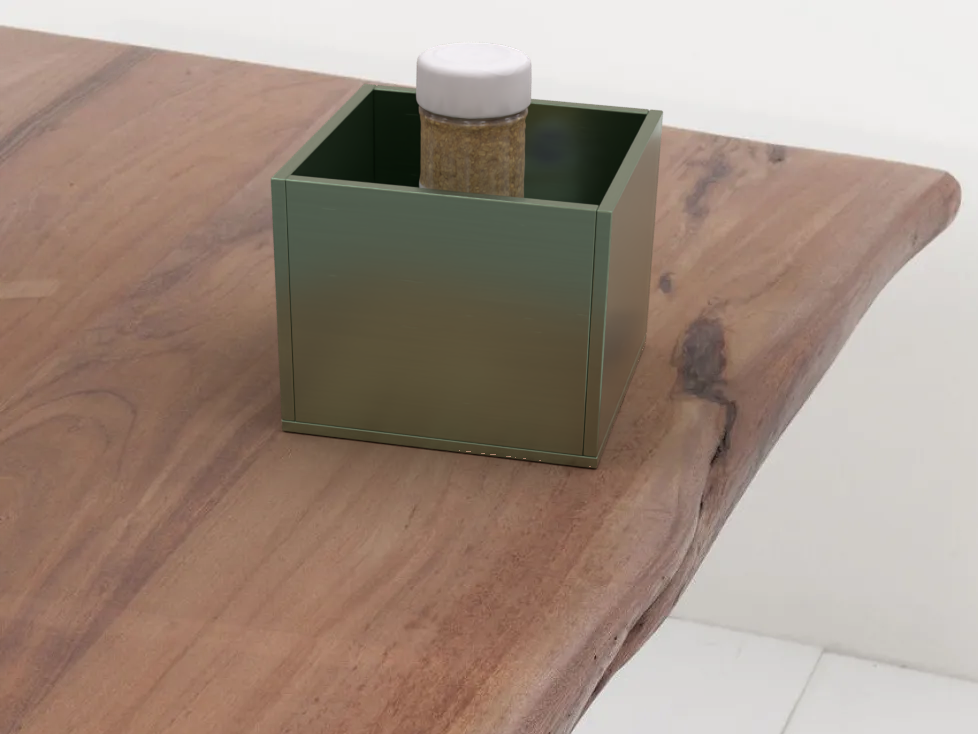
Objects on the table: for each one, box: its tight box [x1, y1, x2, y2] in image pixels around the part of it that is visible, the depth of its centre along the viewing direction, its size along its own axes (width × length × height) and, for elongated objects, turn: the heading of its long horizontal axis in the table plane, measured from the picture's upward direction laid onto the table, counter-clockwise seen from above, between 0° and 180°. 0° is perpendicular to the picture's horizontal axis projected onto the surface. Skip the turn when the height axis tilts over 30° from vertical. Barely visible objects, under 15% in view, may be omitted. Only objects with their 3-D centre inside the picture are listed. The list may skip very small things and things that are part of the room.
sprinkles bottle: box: [415, 41, 533, 198], centre depth 78 cm, size 5×5×14 cm
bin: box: [270, 83, 664, 469], centre depth 79 cm, size 13×13×10 cm
